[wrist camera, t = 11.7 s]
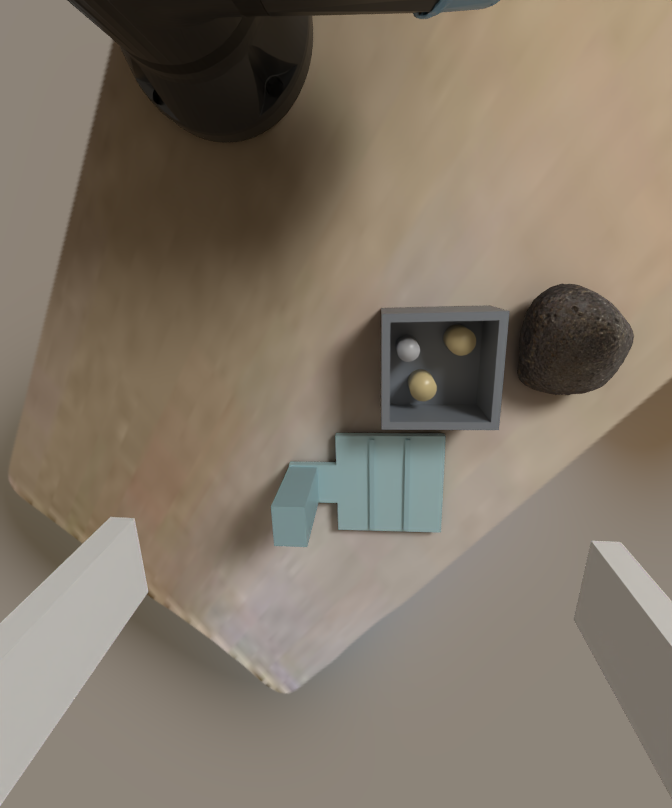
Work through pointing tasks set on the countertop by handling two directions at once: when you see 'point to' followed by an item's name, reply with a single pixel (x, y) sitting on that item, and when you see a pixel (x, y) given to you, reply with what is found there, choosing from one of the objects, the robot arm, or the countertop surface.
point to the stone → (572, 341)
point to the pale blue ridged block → (365, 486)
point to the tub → (442, 367)
